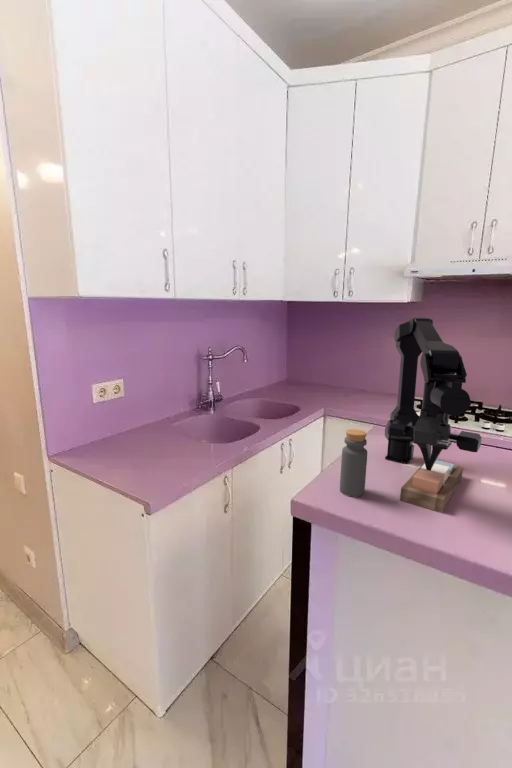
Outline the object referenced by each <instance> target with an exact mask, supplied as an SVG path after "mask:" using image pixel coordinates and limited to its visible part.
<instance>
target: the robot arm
mask: <svg viewBox="0 0 512 768" xmlns="http://www.w3.org/2000/svg"><path fill="white" fill-rule="evenodd" d="M393 337H394V342H395V349H397V352H398V353H399V356H400V363H399V364H400V365H399V378H398V390H397V404H396V406H395V407H394V409H393V410H392V411H391V413H390V418H389V420H388V421H387V423H386V425H385V428H384V437H385V438H386V439H387V454H386V455H385V456H384V459H385V460H389V461H394V462H398V463H402V464H408V463H409V462H411V461H412V460H413V459H414V453H415V452H414V451H415V445H414V444H416V445H417V446H418V448H419V449H420V452H421V454H422V458H423V461H424V462H425V466H426V469H427V470H429V471H431V469H432V467H433V465H434V463H435V461H436V460H438V458H439V456H440V454H441V452H442V451H443V450H448V449H449V448H450V447H451V445H452V443H454V444H456V447H457V449H459V450H460V451H465V452H471V453H478V451H479V450H480V448H481V446H482V445H481V443H482V436H481V434H479V433H475V432H472V431H471V432H470V431H465V430H461V432H460V433H459V434H456V433H451V430H452V429H451V424H449V420H450V416H452V417H458V416H462V415H463V414H465V413H466V412H467V411H468V410H469V408H470V407H471V403H472V402H471V401H472V400H471V397H470V394H469V393H468V391H466V390H465V389H464V388H463V384H466V382H467V381H466V380H467V379H466V377H467V376H468V374H467V372H466V371H467V370H466V367H465V364H464V361H463V356H462V355H461V354H460V352H459V351H458V349H457V348H456V347H455V346H454V345H451V344H448V343H446V342H444V341H443V339H442V338H441V336H440V335H439V333H438V331H437V330H436V328H435V326H434V322H433V319H432V318H429V317H413V318H410V320H408V321H405V322H403V323H401V324H399V325H398V326H397V327H396V329H395V331H394V336H393ZM420 355H421V357H420ZM419 357H420V369H421V373H422V375H423V381H424V383H423V394H422V405H421V409H420V413H419V415H418V413H417V411H416V409H415V398H416V397H415V396H416V387H417V386H416V385H417V374H418V365H419V364H418V363H419V362H418V361H419ZM424 462H423V463H424Z"/></svg>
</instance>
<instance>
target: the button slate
mask: <svg viewBox="0 0 512 768" xmlns="http://www.w3.org/2000/svg"><path fill="white" fill-rule="evenodd" d="M435 464H439V465H444V466H448V467H450V468H449V475H451V474H452V473H453V471H454V465H455V463H451V462H448V461H447V462H446V461H441V460H438V459H437V460H436V461H435Z"/></svg>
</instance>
